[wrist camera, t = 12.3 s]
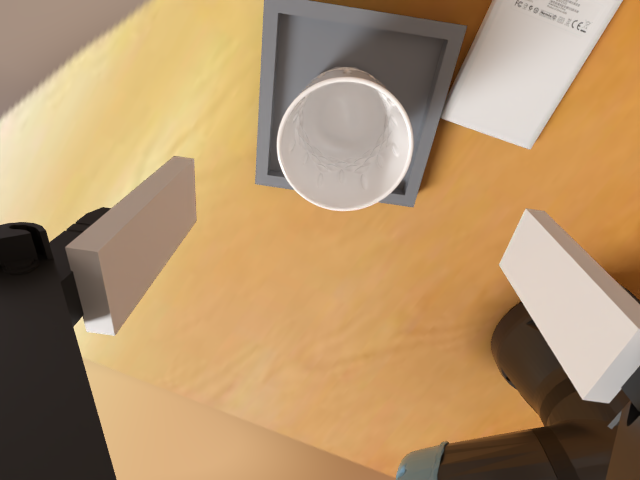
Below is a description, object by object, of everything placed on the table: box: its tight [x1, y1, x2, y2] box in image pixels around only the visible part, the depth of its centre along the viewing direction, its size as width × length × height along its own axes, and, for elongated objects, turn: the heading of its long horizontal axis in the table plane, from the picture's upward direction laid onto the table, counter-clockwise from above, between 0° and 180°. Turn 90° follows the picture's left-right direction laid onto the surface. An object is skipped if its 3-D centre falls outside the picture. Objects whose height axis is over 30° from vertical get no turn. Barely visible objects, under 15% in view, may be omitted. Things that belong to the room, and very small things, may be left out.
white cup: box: [277, 67, 414, 211], centre depth 26 cm, size 8×8×10 cm
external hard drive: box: [440, 0, 623, 149], centre depth 28 cm, size 2×8×12 cm
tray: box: [255, 0, 467, 207], centre depth 30 cm, size 14×14×2 cm
